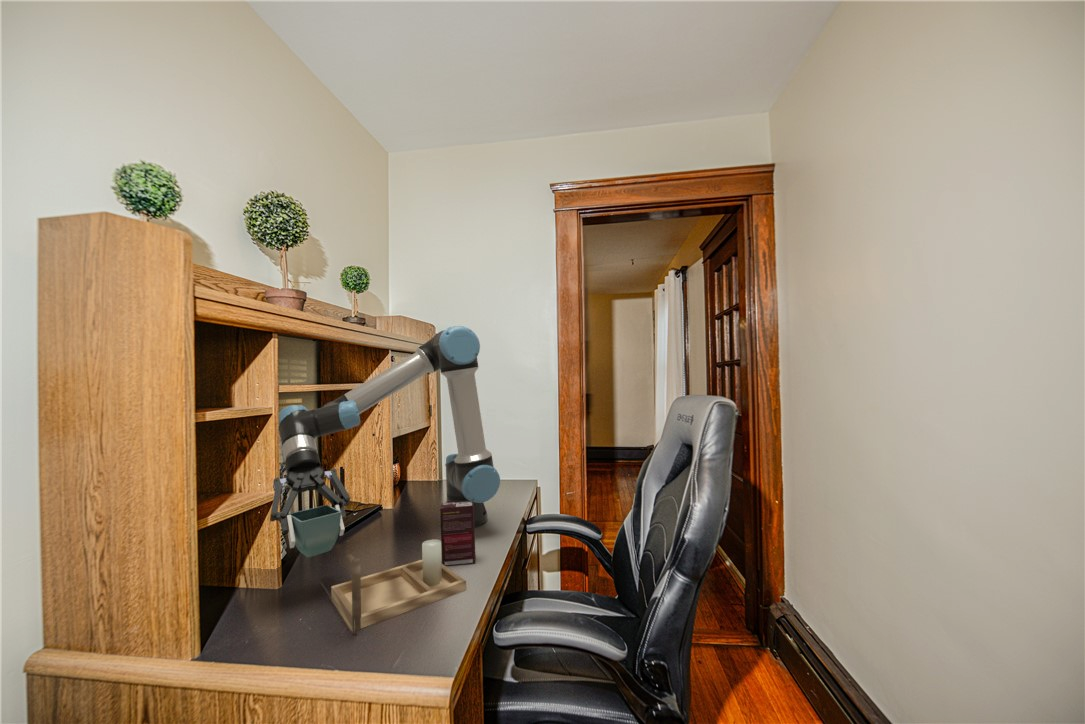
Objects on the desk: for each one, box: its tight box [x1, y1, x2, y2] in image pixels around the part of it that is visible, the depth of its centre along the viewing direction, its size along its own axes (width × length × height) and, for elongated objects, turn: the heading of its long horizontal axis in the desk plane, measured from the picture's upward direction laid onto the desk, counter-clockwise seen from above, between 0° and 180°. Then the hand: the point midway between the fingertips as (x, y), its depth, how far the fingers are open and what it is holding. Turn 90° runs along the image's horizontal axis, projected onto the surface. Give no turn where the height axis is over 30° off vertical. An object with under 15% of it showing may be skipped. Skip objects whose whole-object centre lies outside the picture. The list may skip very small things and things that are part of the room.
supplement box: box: [439, 501, 477, 568], centre depth 115 cm, size 9×5×16 cm, turn 98°
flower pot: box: [288, 504, 341, 558], centre depth 101 cm, size 9×9×9 cm
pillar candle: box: [421, 539, 442, 586], centre depth 104 cm, size 4×4×9 cm
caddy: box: [330, 553, 467, 637], centre depth 99 cm, size 24×18×14 cm
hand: (318, 538), depth 99 cm, fingers closed on flower pot, 9 cm apart
